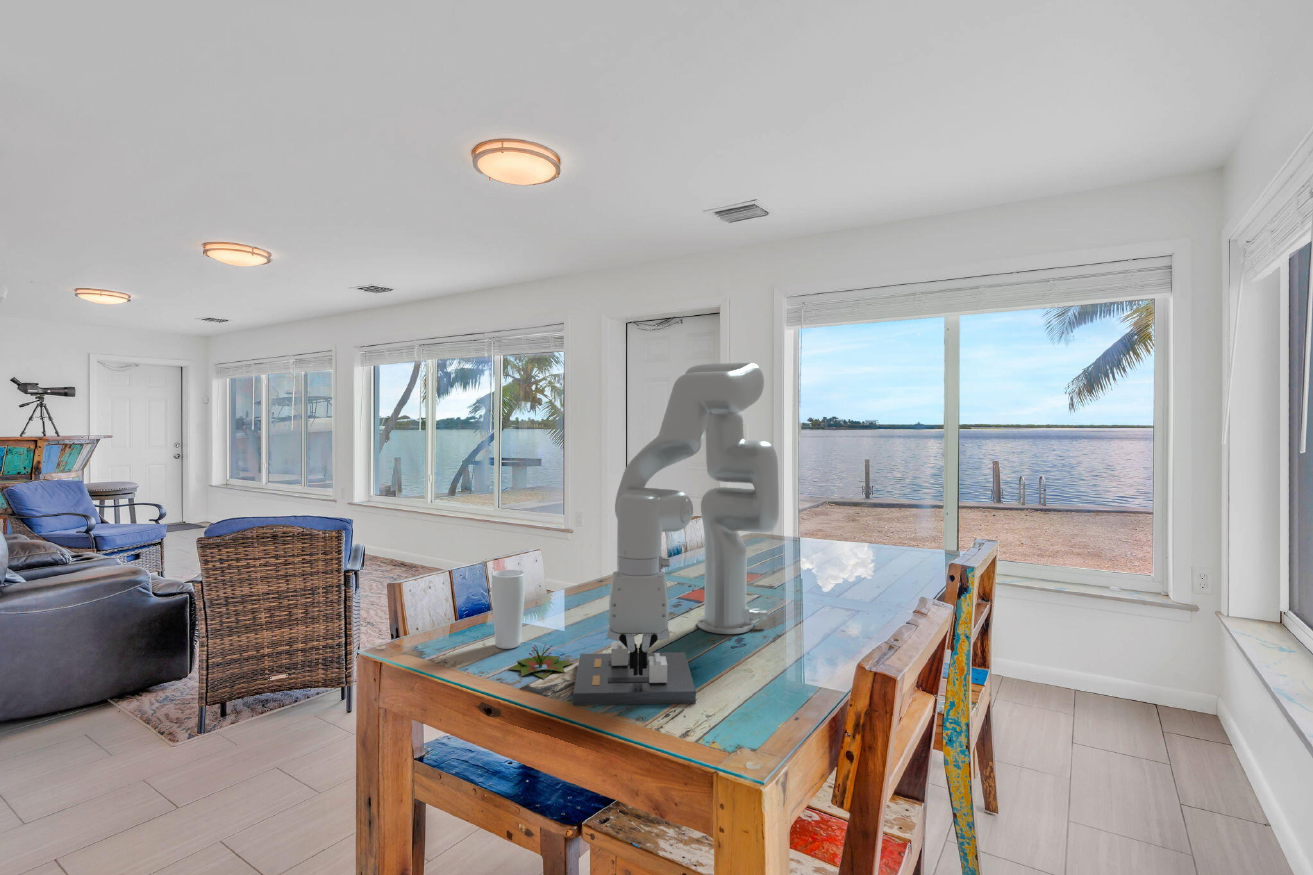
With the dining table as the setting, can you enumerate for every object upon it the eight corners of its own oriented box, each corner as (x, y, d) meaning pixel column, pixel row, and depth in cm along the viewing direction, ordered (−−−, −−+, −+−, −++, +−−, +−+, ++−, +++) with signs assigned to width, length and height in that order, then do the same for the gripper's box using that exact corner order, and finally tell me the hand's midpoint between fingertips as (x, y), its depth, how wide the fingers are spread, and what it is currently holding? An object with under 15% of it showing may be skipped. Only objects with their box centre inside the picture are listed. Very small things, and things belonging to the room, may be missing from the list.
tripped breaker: (665, 673, 111) (665, 652, 111) (667, 682, 107) (667, 661, 107) (648, 673, 111) (648, 653, 111) (649, 682, 107) (649, 661, 107)
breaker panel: (684, 662, 122) (684, 651, 122) (695, 703, 104) (695, 690, 104) (580, 664, 121) (580, 653, 121) (573, 705, 103) (573, 692, 103)
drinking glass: (531, 642, 133) (531, 571, 133) (511, 653, 127) (511, 578, 127) (505, 638, 136) (505, 568, 136) (484, 648, 130) (484, 574, 129)
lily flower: (537, 654, 128) (537, 631, 128) (585, 665, 122) (585, 641, 122) (494, 673, 117) (494, 649, 117) (545, 687, 112) (545, 661, 111)
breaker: (627, 657, 119) (627, 638, 119) (627, 665, 115) (628, 645, 115) (611, 657, 118) (611, 638, 118) (611, 665, 115) (611, 645, 114)
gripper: (680, 561, 113) (679, 664, 113) (596, 561, 112) (595, 664, 112) (684, 570, 105) (683, 680, 105) (594, 570, 105) (593, 681, 105)
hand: (638, 672), depth 109 cm, fingers closed
